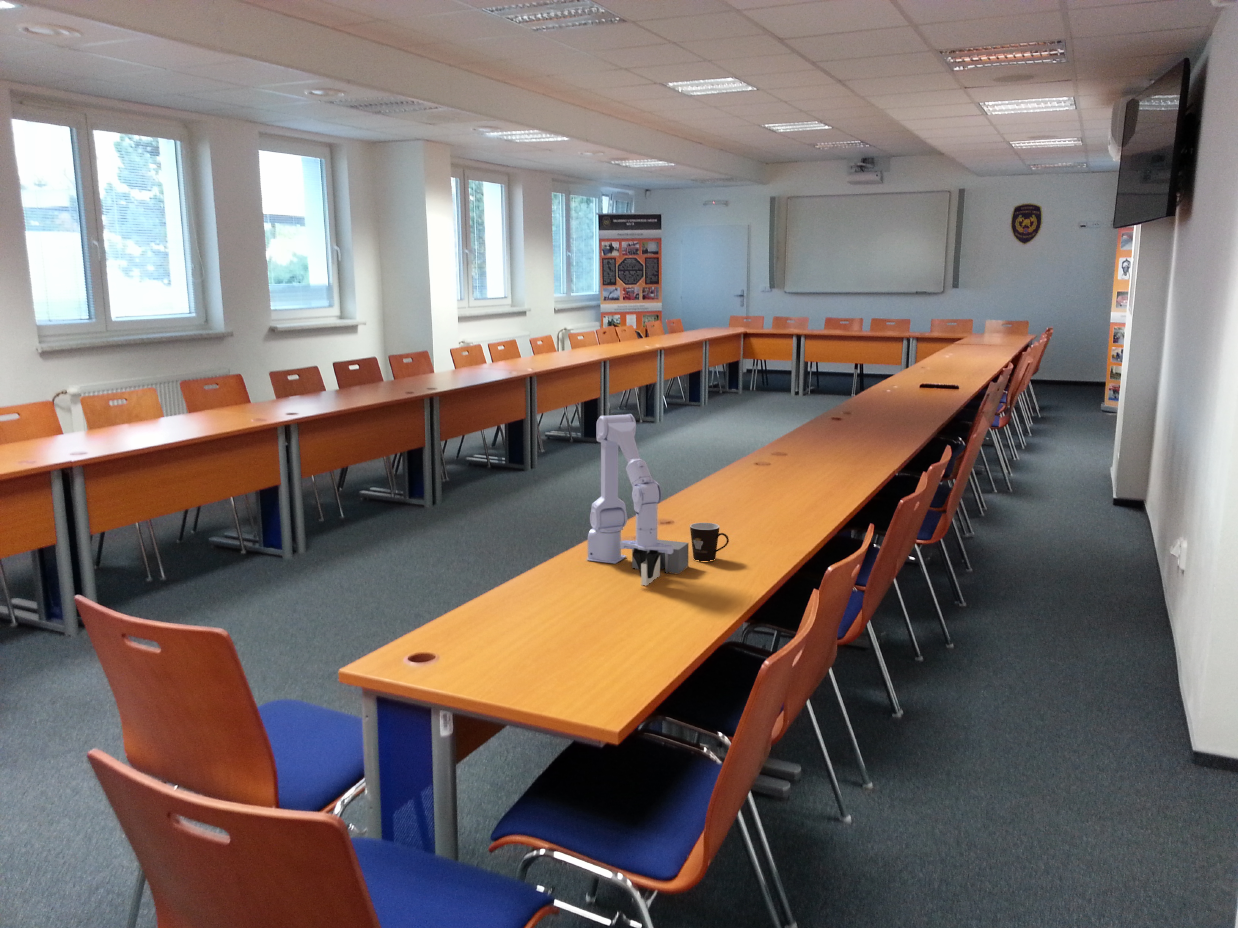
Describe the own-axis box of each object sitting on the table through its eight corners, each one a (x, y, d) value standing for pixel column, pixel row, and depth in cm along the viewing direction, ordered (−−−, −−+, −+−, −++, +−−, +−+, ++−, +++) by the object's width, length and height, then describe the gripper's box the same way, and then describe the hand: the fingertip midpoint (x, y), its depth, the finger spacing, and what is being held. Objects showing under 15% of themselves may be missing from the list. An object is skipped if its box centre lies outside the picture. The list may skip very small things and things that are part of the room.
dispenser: (631, 569, 263) (631, 545, 262) (642, 561, 271) (642, 537, 270) (677, 574, 257) (678, 550, 256) (688, 566, 265) (688, 542, 264)
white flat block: (641, 585, 248) (641, 563, 247) (654, 575, 257) (654, 554, 256) (646, 585, 247) (646, 564, 246) (659, 575, 257) (659, 554, 255)
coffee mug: (684, 557, 274) (684, 524, 273) (708, 553, 278) (709, 521, 276) (705, 567, 264) (705, 533, 262) (730, 563, 268) (731, 529, 266)
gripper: (615, 528, 246) (615, 577, 249) (666, 533, 240) (666, 584, 243) (626, 522, 253) (626, 570, 255) (676, 527, 247) (676, 576, 249)
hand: (646, 576), depth 249 cm, fingers closed on white flat block, 1 cm apart
